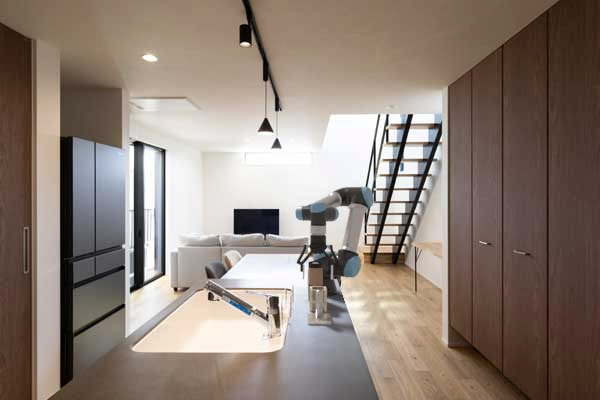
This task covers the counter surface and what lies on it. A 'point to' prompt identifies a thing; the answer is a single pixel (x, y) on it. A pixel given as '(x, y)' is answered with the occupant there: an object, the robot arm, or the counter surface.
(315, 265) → the travel mug
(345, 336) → the counter surface
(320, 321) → the post stand
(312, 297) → the birch sleeve
